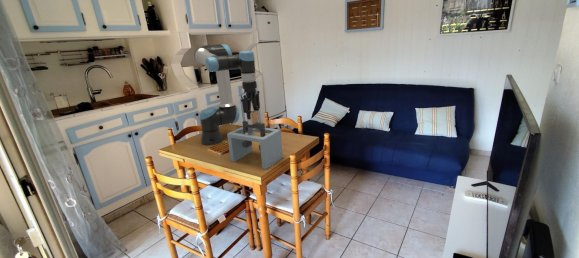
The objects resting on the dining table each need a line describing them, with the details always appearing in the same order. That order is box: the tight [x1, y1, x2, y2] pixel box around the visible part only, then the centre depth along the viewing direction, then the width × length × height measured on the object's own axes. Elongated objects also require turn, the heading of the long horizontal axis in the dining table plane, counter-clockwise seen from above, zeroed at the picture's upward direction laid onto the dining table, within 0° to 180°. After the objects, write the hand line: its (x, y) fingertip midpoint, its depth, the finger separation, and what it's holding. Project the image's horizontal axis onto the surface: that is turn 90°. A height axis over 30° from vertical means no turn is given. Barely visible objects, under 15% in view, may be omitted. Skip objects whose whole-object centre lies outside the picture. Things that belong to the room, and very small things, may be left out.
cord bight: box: [242, 110, 266, 151], centre depth 154 cm, size 15×5×21 cm, turn 60°
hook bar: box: [245, 128, 260, 136], centre depth 154 cm, size 2×13×2 cm, turn 149°
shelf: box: [226, 126, 284, 170], centre depth 157 cm, size 25×17×17 cm
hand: (253, 123), depth 153 cm, fingers open, 4 cm apart
